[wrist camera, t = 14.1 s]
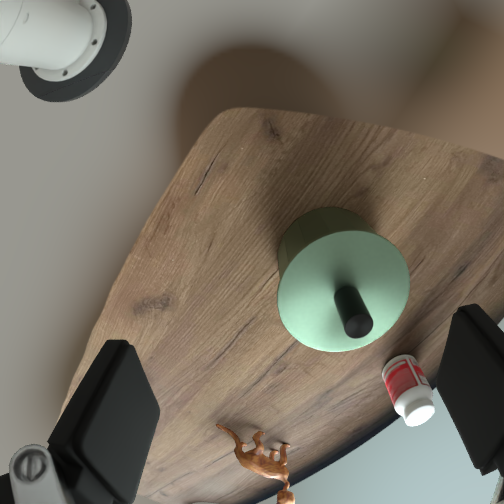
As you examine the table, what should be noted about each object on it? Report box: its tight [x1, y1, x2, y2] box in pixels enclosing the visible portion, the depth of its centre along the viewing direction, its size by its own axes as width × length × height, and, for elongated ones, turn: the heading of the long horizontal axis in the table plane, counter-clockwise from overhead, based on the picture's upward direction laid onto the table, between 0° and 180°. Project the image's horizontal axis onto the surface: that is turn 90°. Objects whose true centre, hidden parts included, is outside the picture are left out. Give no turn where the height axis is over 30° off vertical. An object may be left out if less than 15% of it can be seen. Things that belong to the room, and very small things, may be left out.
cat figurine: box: [216, 424, 295, 504], centre depth 48 cm, size 18×7×14 cm, turn 52°
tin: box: [278, 207, 377, 278], centre depth 35 cm, size 13×13×10 cm
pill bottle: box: [382, 355, 435, 426], centre depth 42 cm, size 6×6×11 cm
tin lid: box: [277, 229, 410, 352], centre depth 29 cm, size 14×14×6 cm
